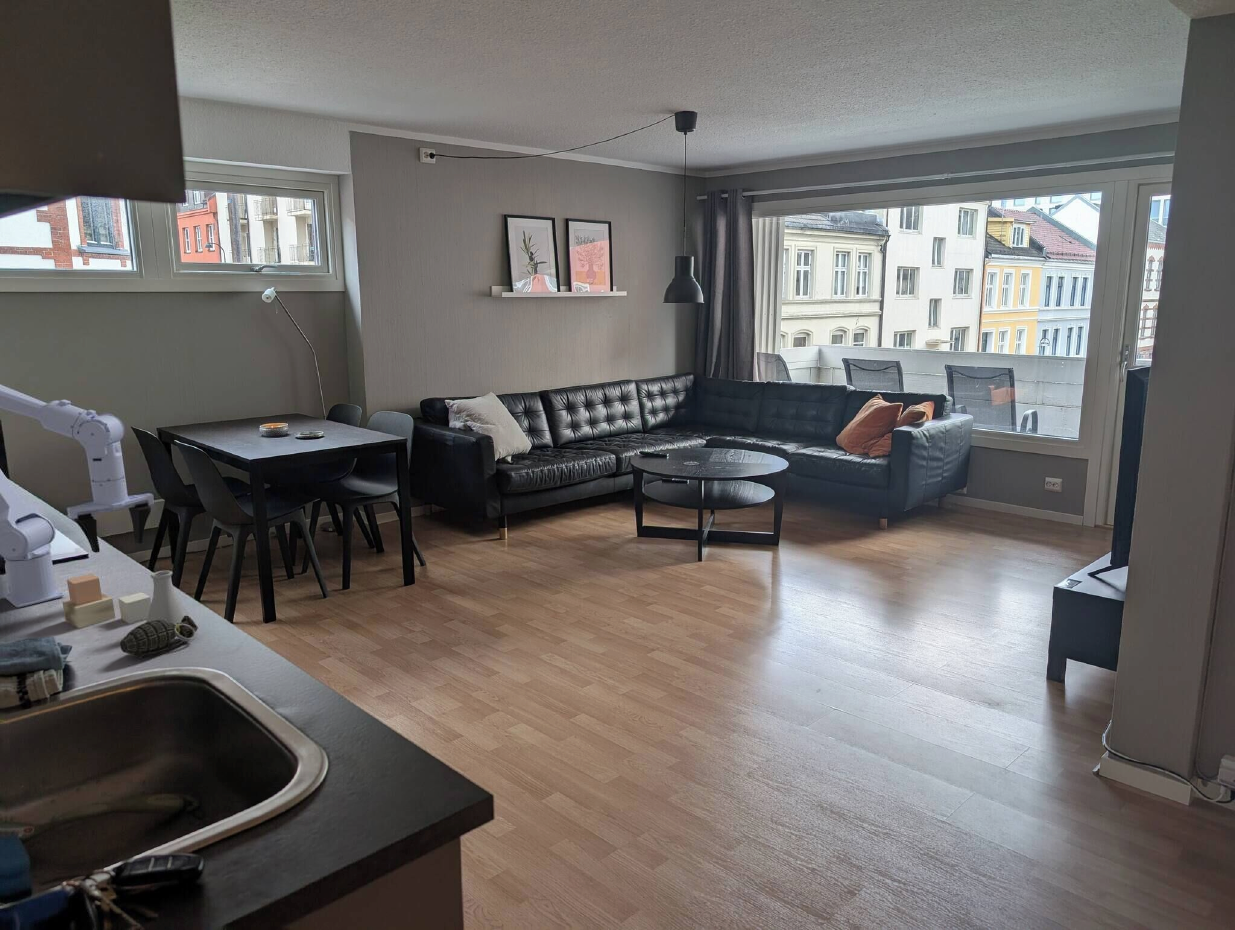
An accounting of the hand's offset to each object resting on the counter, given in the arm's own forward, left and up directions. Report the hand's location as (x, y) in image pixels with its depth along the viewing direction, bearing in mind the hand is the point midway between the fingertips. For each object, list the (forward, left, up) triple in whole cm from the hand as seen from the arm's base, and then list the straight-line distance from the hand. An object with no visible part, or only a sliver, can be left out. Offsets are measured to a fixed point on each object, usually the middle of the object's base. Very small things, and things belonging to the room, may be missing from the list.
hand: (117, 546), depth 165 cm
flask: (+24, -1, -10) cm, 26 cm away
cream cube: (+15, -3, -10) cm, 18 cm away
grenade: (+34, -6, -10) cm, 36 cm away
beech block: (+9, -9, -10) cm, 16 cm away
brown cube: (+9, -9, -6) cm, 14 cm away
